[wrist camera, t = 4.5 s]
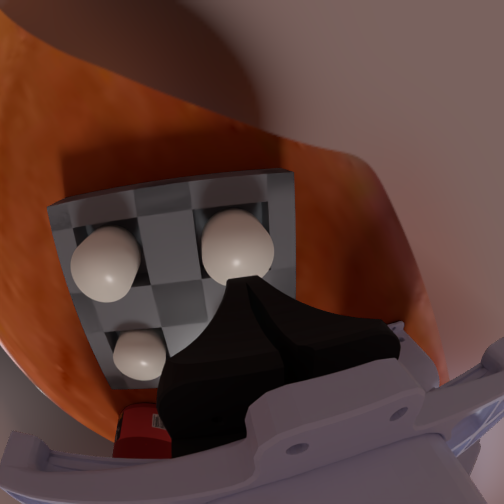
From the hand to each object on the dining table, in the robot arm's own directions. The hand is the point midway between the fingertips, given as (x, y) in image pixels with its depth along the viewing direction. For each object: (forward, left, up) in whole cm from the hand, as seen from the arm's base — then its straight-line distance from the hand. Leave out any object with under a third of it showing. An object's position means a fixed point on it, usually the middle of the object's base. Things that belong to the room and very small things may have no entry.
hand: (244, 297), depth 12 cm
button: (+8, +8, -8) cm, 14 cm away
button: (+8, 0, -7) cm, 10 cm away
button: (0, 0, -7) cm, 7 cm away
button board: (+4, +4, -9) cm, 11 cm away
